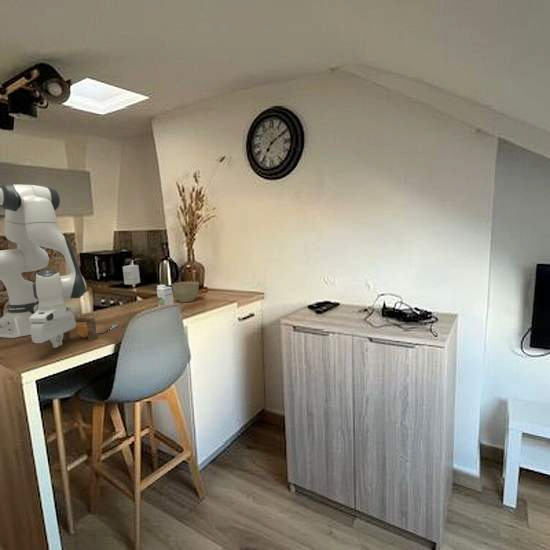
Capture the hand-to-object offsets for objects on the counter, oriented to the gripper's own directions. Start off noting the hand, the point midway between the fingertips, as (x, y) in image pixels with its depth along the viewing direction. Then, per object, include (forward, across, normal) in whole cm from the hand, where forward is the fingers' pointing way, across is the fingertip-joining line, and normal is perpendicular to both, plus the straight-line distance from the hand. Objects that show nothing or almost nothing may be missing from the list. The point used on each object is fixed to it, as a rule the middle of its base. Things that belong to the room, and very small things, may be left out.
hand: (57, 346), depth 142 cm
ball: (-1, -16, +1) cm, 16 cm away
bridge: (+2, -13, 0) cm, 13 cm away
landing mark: (+2, -27, 0) cm, 27 cm away
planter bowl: (+2, -85, +22) cm, 88 cm away
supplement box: (+2, -153, -49) cm, 161 cm away
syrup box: (+2, -54, +22) cm, 58 cm away
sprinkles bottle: (+2, -66, +15) cm, 68 cm away
